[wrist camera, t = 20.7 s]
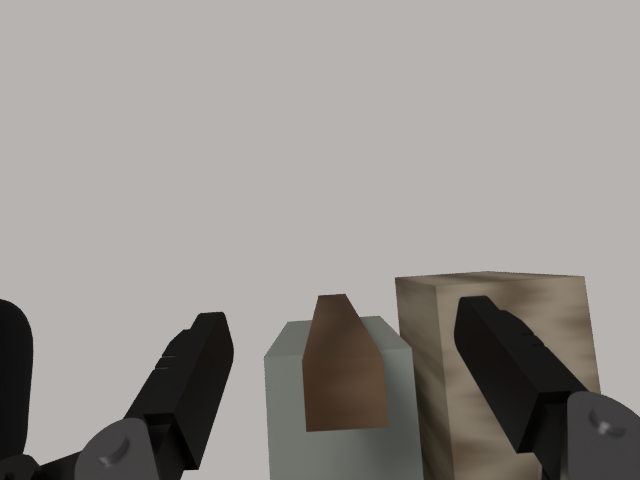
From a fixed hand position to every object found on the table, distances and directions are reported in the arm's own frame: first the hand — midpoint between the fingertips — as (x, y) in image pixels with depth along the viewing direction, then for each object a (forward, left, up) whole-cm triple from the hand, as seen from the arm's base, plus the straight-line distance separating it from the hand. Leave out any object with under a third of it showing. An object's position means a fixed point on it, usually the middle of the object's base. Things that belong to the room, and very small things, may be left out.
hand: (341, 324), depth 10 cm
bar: (0, +12, -4) cm, 12 cm away
